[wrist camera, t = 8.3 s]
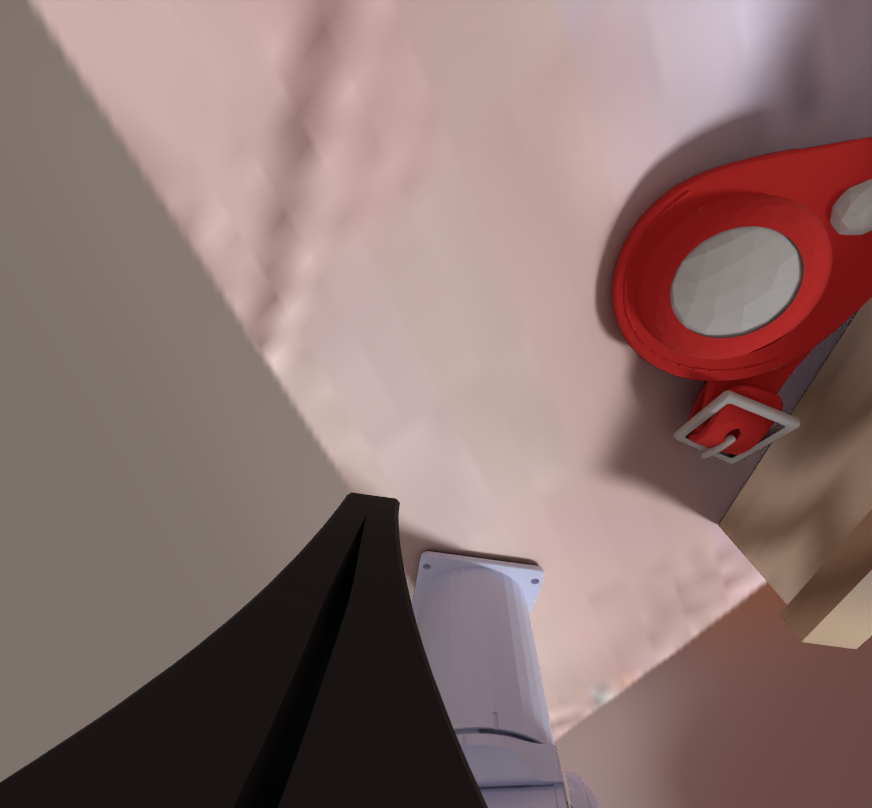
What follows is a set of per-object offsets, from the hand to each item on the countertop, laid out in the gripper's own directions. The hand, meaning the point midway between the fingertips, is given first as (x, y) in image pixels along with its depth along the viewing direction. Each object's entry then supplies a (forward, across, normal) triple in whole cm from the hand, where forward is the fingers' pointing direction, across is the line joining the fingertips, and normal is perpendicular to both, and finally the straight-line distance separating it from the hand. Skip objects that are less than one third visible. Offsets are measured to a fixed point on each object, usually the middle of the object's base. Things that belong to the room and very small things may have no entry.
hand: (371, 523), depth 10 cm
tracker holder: (+10, -13, -6) cm, 17 cm away
